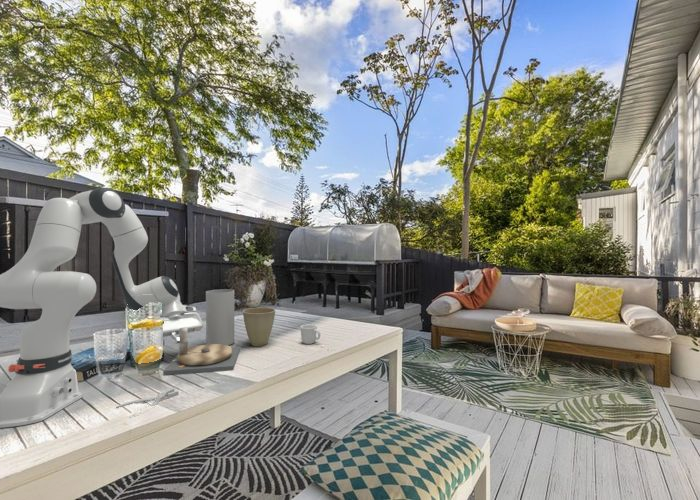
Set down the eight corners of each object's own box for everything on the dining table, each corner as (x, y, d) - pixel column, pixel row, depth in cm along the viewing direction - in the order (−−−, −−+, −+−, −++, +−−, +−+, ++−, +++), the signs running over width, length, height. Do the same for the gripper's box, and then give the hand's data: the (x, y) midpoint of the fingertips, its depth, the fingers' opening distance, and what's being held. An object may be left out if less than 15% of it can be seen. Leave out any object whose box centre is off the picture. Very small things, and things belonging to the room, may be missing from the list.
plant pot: (264, 350, 150) (263, 314, 149) (236, 346, 155) (236, 312, 154) (281, 340, 164) (281, 308, 164) (255, 338, 169) (255, 306, 168)
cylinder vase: (221, 338, 168) (220, 288, 167) (240, 341, 162) (239, 290, 162) (200, 345, 156) (199, 292, 156) (219, 349, 151) (219, 293, 150)
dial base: (233, 369, 126) (233, 365, 126) (163, 375, 121) (163, 370, 121) (239, 350, 150) (239, 346, 150) (181, 353, 144) (181, 349, 144)
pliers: (115, 403, 97) (168, 385, 109) (115, 408, 97) (168, 390, 109) (130, 413, 91) (184, 393, 104) (130, 419, 91) (184, 398, 104)
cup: (325, 342, 161) (325, 326, 161) (314, 347, 154) (314, 329, 154) (307, 339, 167) (307, 323, 167) (296, 343, 160) (296, 326, 160)
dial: (231, 346, 148) (231, 319, 148) (232, 361, 130) (232, 330, 129) (180, 351, 141) (180, 323, 141) (174, 368, 122) (174, 335, 122)
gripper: (145, 313, 133) (152, 343, 126) (199, 306, 147) (207, 333, 140) (143, 322, 136) (149, 352, 129) (195, 315, 150) (204, 341, 144)
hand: (180, 342), depth 135 cm, fingers closed
